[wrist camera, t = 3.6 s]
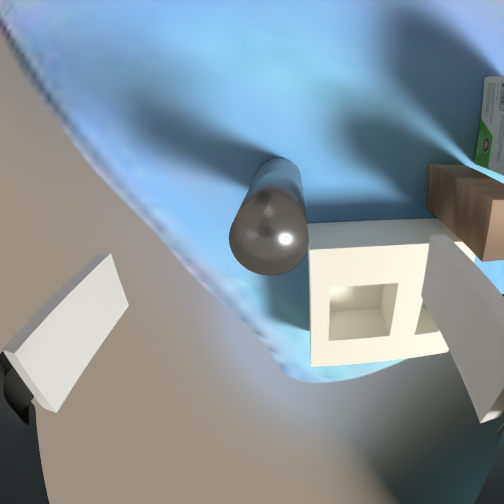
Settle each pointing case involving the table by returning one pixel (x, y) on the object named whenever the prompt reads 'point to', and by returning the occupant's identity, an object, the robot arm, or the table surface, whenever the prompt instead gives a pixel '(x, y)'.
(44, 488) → the robot arm
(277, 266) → the round peg
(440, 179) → the walnut square bar
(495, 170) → the ink box
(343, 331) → the socket block
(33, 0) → the table surface
